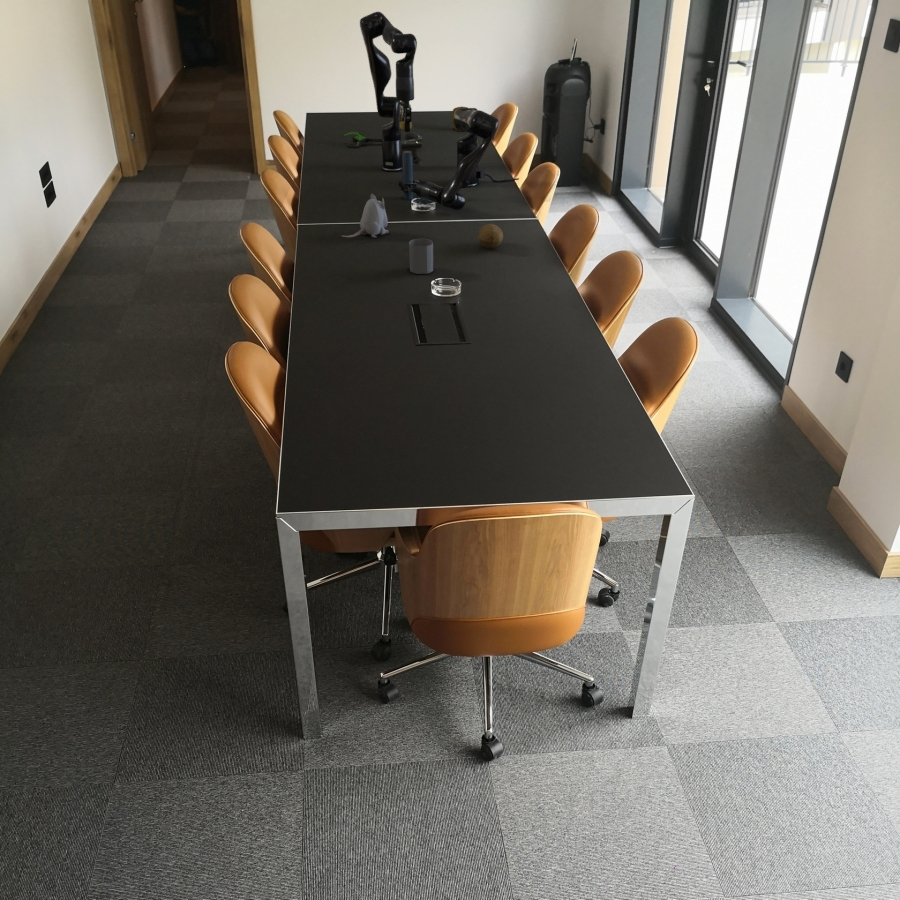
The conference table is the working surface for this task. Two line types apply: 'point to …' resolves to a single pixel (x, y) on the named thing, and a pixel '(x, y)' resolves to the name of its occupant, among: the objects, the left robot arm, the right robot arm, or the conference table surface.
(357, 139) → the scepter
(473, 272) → the conference table surface
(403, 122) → the lid
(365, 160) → the conference table surface
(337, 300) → the conference table surface
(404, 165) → the dark blue cylinder
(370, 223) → the toy
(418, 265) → the cup
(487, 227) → the potato
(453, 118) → the apple
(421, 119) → the conference table surface
